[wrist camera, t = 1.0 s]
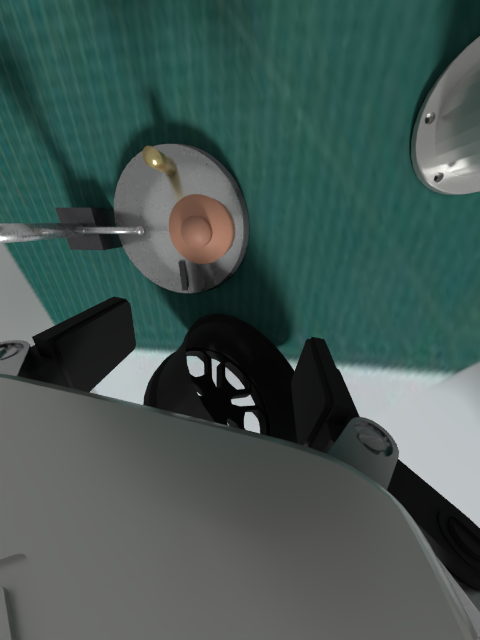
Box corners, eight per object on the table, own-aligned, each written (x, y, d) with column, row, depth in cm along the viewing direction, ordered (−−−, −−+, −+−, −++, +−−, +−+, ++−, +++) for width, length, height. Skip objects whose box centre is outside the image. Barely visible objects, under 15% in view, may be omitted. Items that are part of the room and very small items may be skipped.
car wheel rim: (182, 334, 36) (100, 444, 18) (213, 295, 32) (143, 390, 14) (264, 391, 40) (260, 527, 22) (301, 364, 36) (332, 505, 18)
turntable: (245, 145, 21) (239, 123, 17) (244, 292, 29) (239, 306, 24) (105, 151, 23) (62, 133, 19) (138, 287, 31) (114, 300, 26)
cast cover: (235, 197, 23) (227, 191, 18) (235, 259, 26) (228, 267, 21) (177, 197, 23) (156, 192, 19) (184, 258, 27) (168, 265, 22)
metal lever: (159, 209, 27) (2, 192, 11) (166, 247, 29) (42, 279, 13) (81, 209, 28) (-159, 195, 12) (93, 246, 31) (-97, 273, 15)
